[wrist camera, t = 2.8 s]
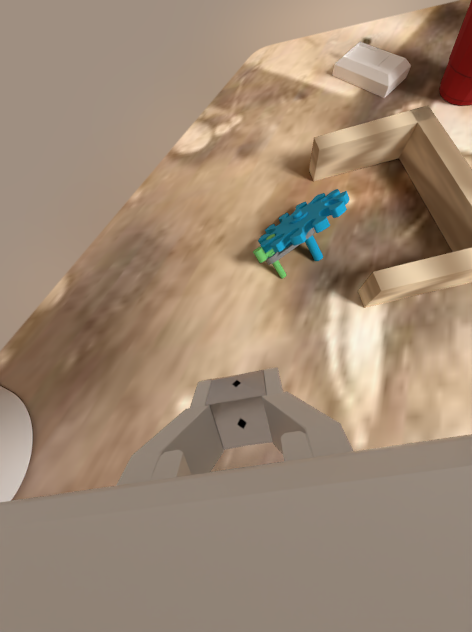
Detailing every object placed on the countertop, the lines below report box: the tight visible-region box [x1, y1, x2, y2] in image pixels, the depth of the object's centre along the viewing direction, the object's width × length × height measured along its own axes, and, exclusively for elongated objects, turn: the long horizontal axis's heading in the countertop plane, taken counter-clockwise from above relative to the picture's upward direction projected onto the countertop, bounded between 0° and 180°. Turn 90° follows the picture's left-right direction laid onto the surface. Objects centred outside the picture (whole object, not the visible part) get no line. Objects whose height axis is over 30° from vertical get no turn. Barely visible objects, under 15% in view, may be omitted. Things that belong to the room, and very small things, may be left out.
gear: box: [253, 189, 349, 278], centre depth 28 cm, size 11×6×10 cm
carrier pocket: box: [309, 106, 472, 308], centre depth 28 cm, size 13×20×4 cm, turn 12°
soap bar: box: [332, 42, 411, 98], centre depth 37 cm, size 5×9×3 cm, turn 45°
